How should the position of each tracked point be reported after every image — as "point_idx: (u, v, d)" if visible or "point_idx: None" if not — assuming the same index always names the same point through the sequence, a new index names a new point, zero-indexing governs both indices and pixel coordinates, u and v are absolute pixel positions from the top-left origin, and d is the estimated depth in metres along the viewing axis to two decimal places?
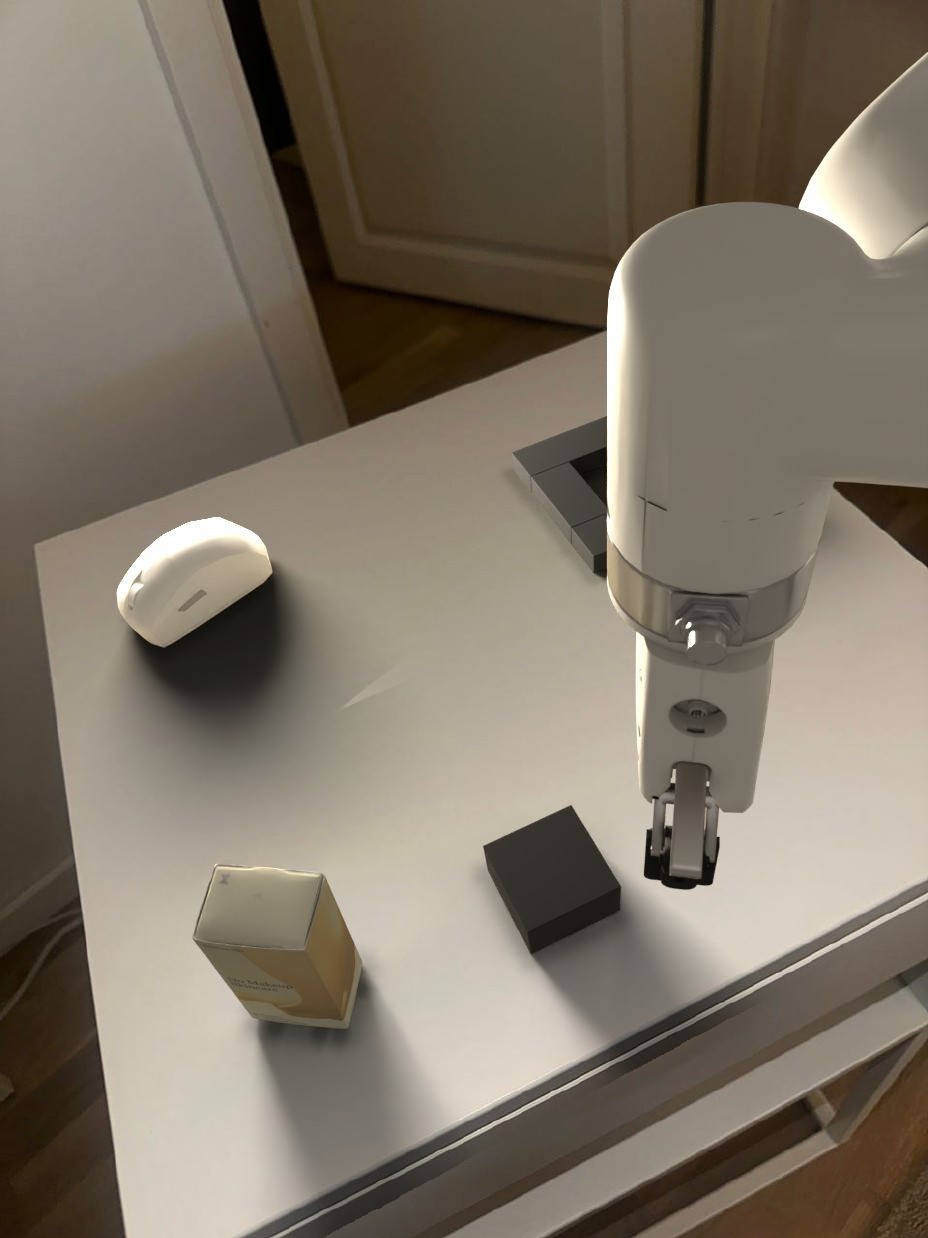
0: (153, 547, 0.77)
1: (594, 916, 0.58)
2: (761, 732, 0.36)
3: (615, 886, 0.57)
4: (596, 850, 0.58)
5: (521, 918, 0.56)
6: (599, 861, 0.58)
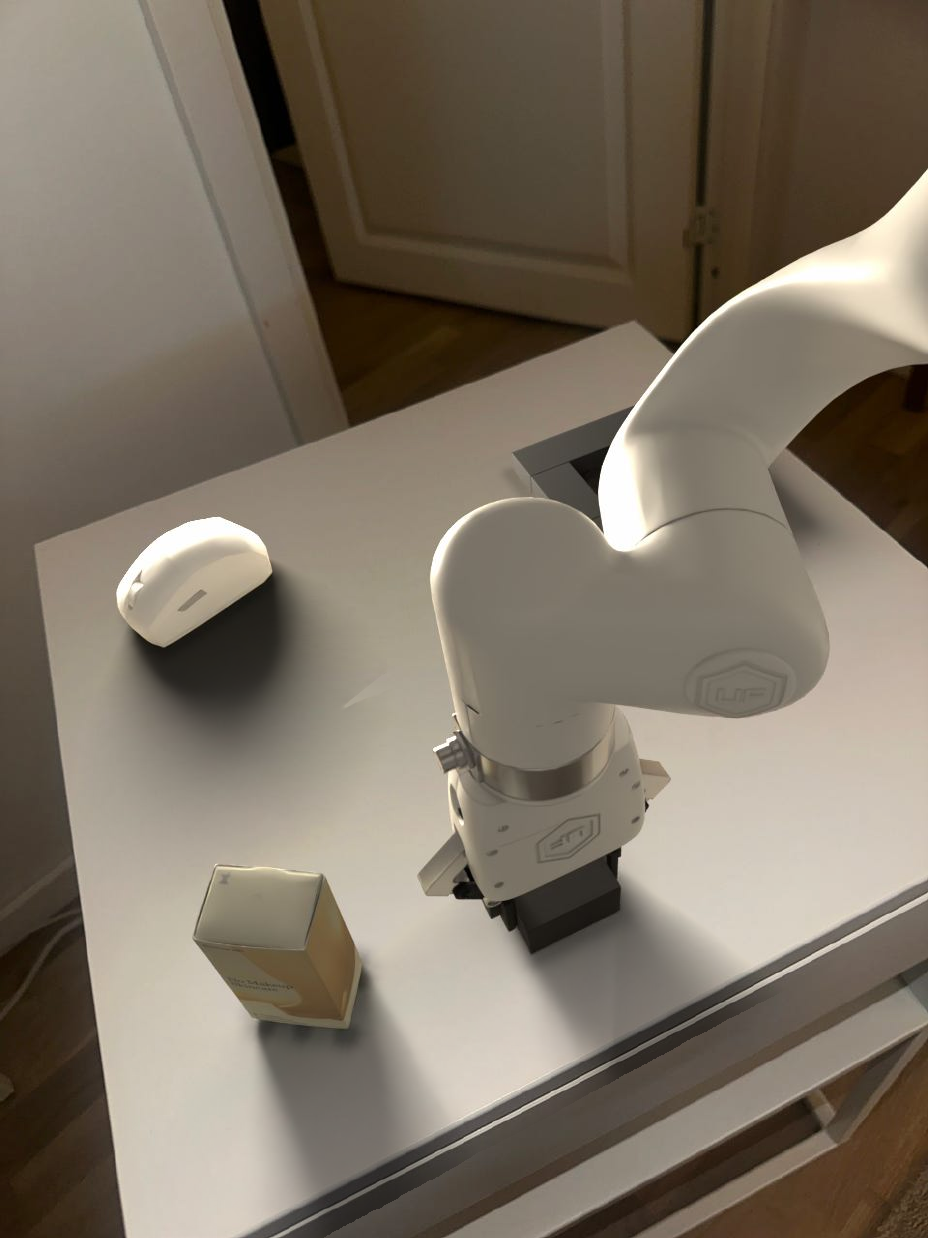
0: (153, 547, 0.77)
1: (594, 916, 0.58)
2: (483, 850, 0.48)
3: (615, 886, 0.57)
4: None
5: (521, 918, 0.56)
6: (599, 861, 0.58)
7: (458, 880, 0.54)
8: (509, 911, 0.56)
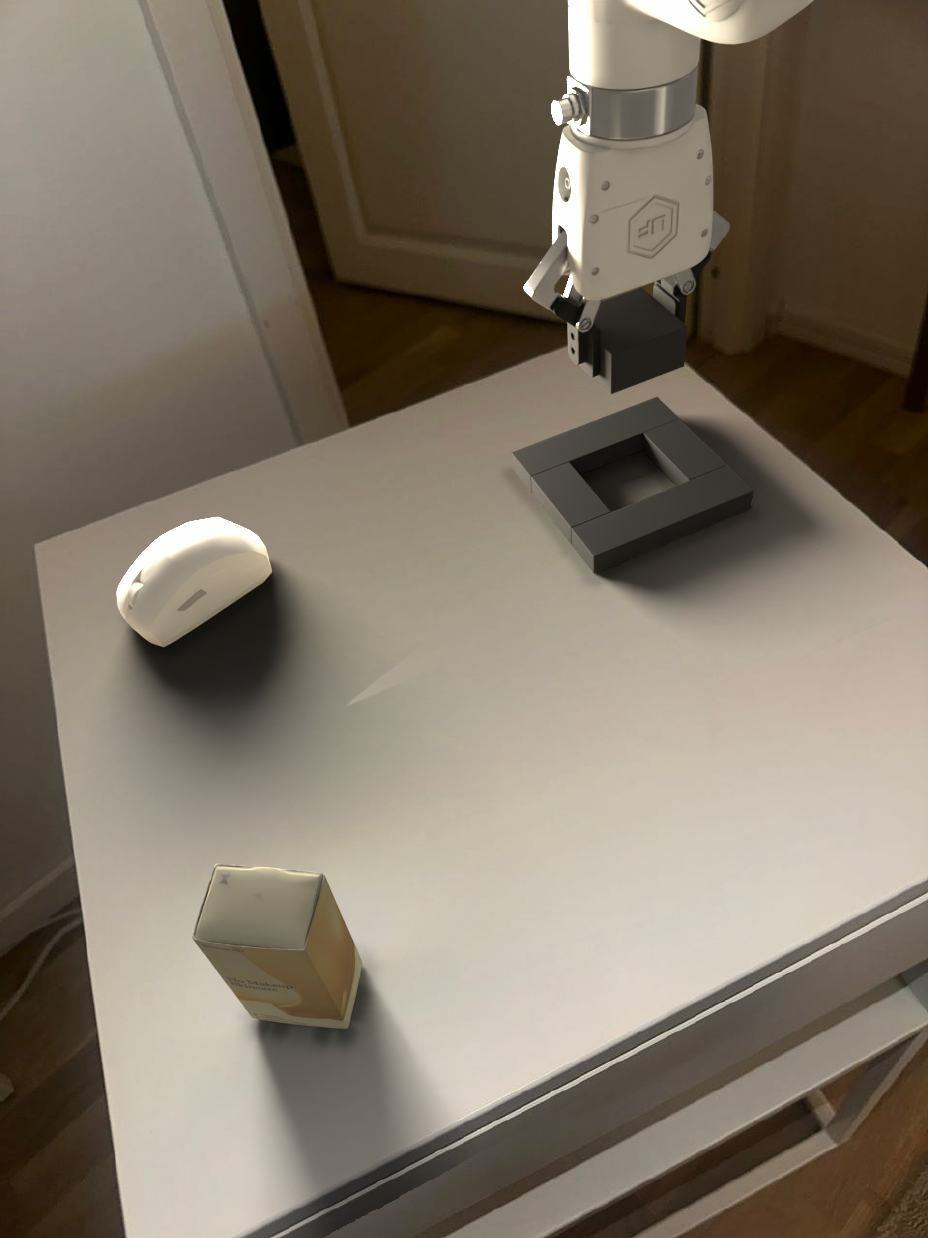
0: (153, 547, 0.77)
1: (663, 362, 0.70)
2: (587, 213, 0.59)
3: (682, 326, 0.68)
4: (665, 309, 0.70)
5: (605, 347, 0.68)
6: (668, 314, 0.69)
7: (557, 293, 0.65)
8: (595, 342, 0.68)
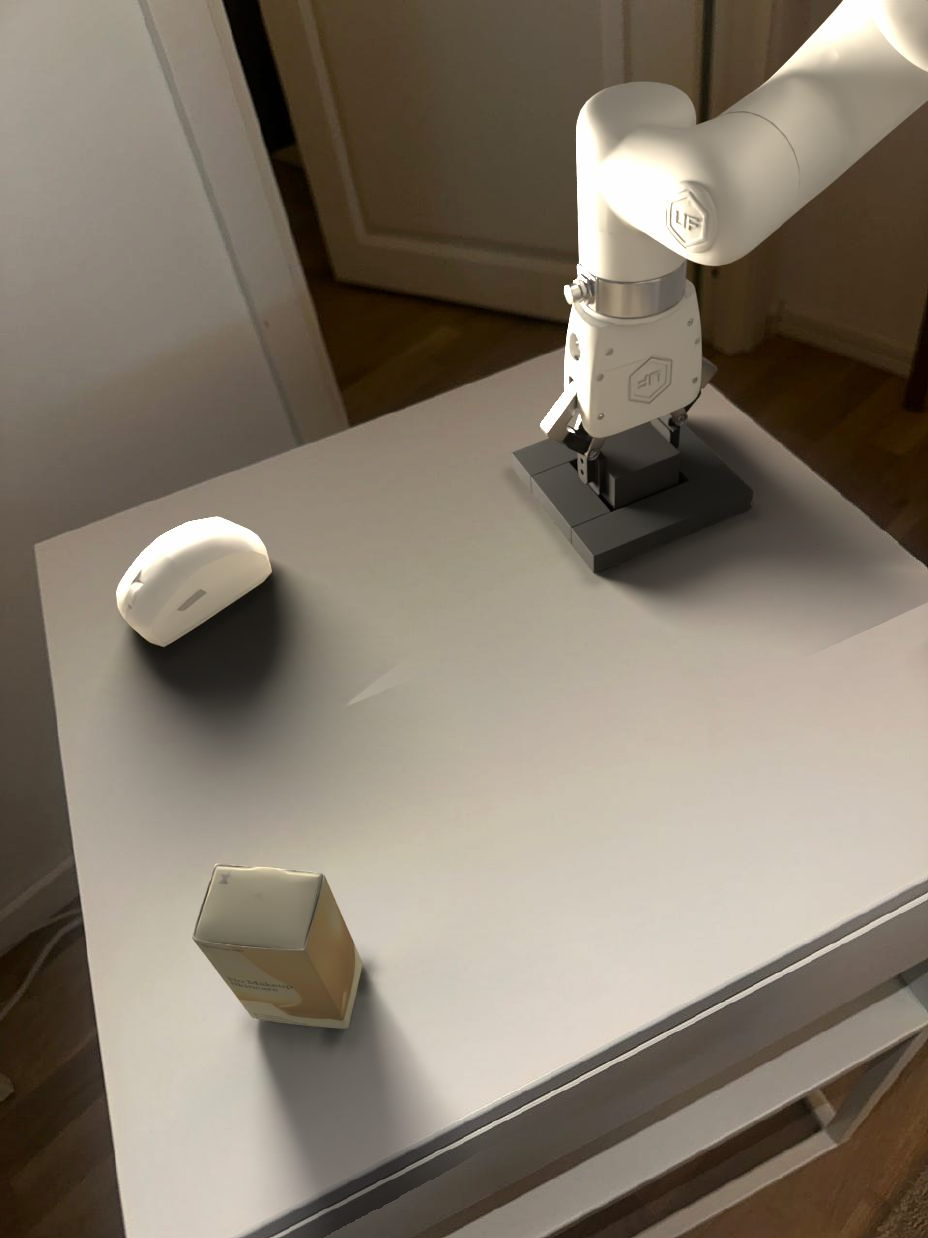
0: (152, 546, 0.77)
1: (660, 482, 0.80)
2: (594, 373, 0.70)
3: (676, 453, 0.79)
4: (661, 435, 0.81)
5: (609, 472, 0.78)
6: (664, 441, 0.80)
7: (569, 430, 0.76)
8: (602, 467, 0.78)
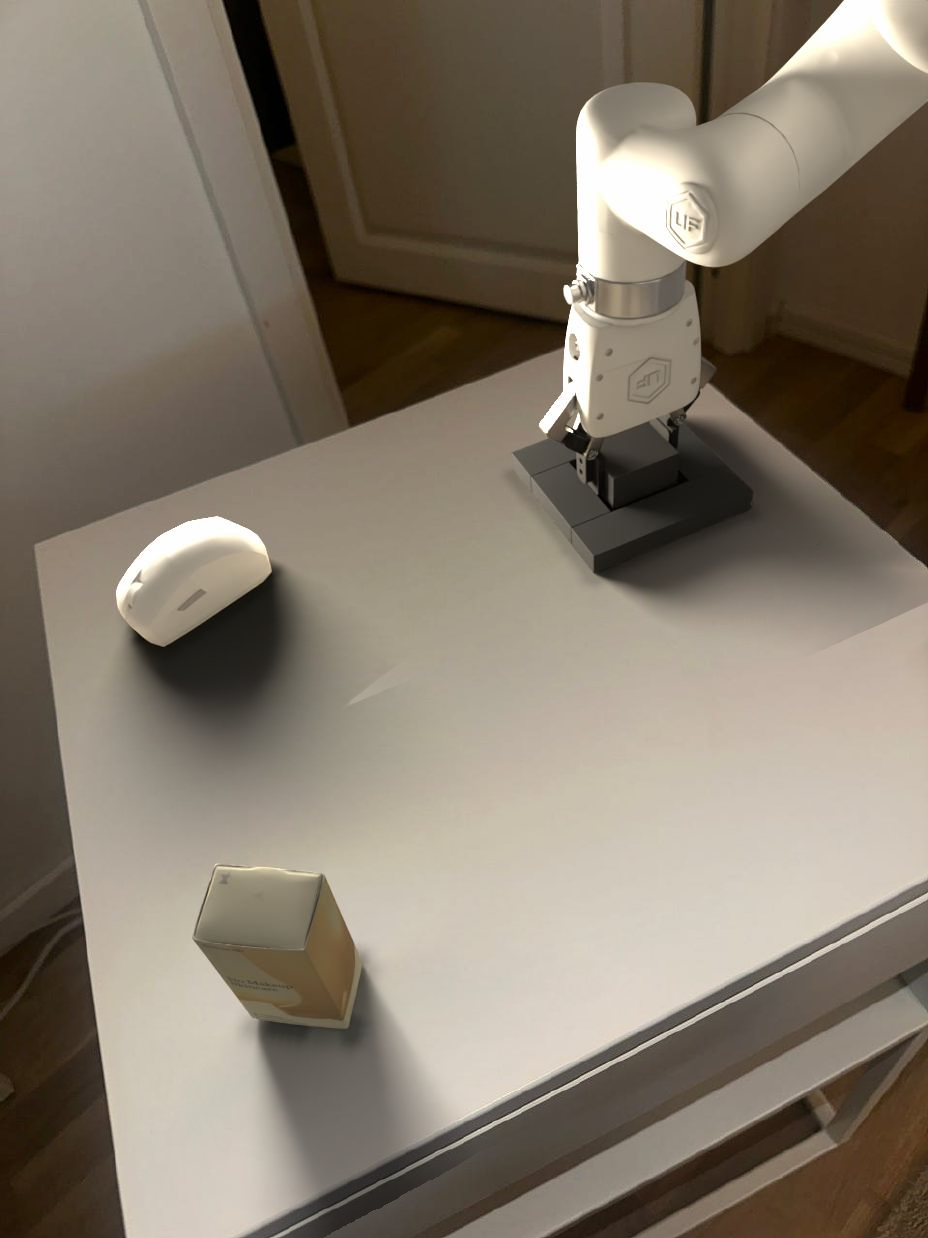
0: (152, 546, 0.77)
1: (659, 482, 0.80)
2: (593, 373, 0.70)
3: (675, 453, 0.79)
4: (660, 435, 0.81)
5: (608, 472, 0.78)
6: (663, 441, 0.80)
7: (568, 429, 0.76)
8: (600, 467, 0.78)
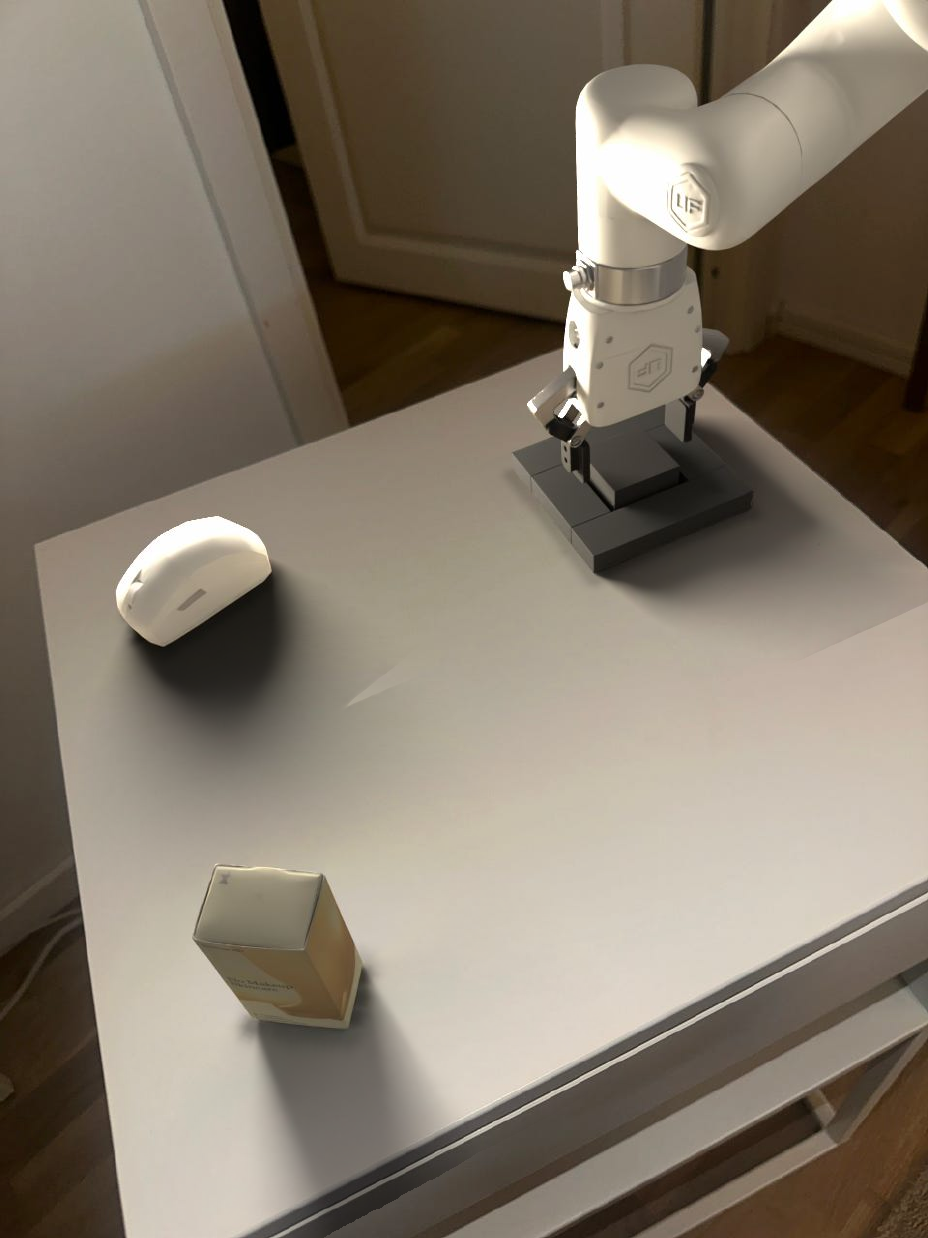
0: (152, 546, 0.77)
1: None
2: (593, 361, 0.69)
3: (675, 465, 0.80)
4: (661, 448, 0.82)
5: (609, 485, 0.79)
6: (663, 453, 0.81)
7: (554, 415, 0.74)
8: (585, 455, 0.77)
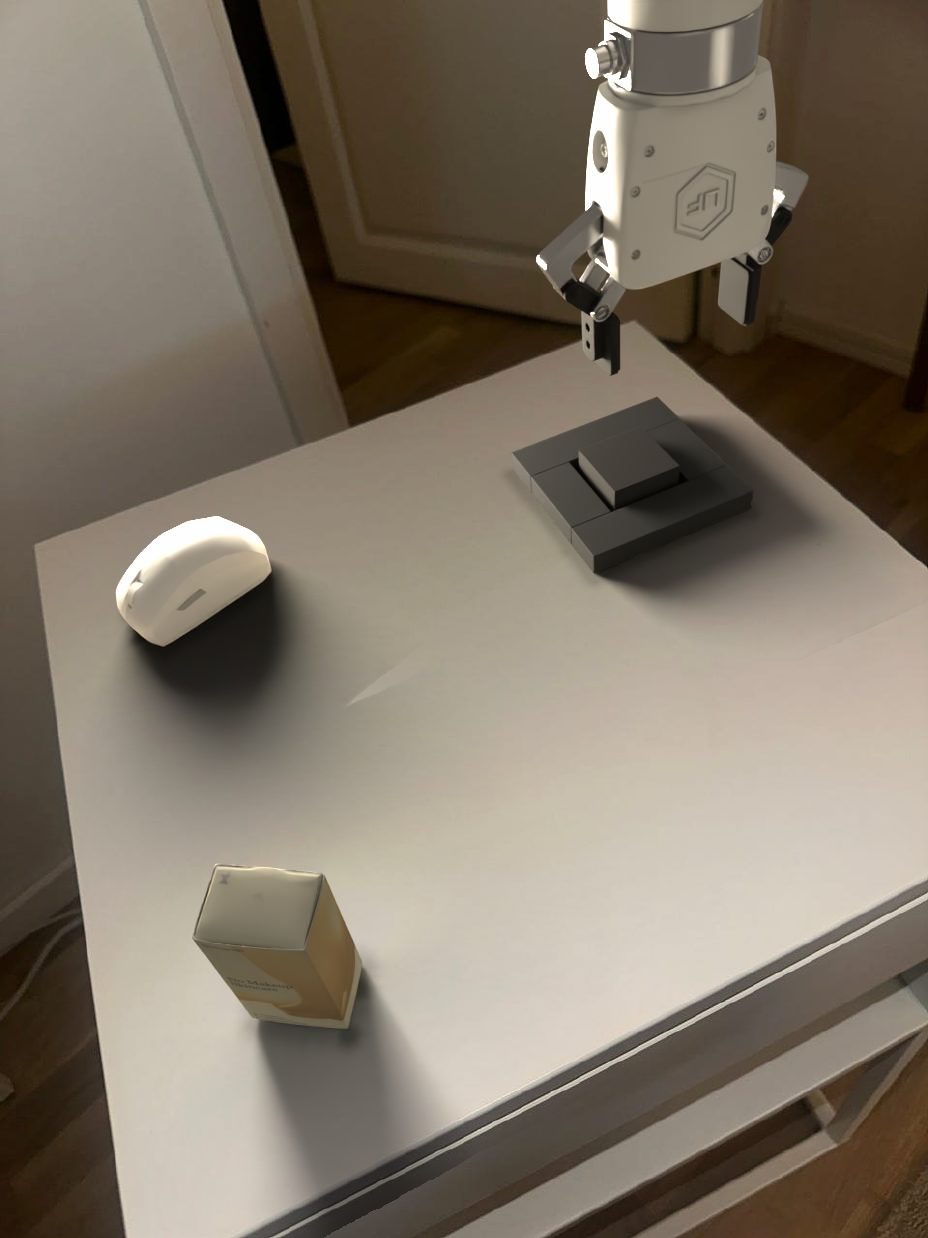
0: (152, 546, 0.77)
1: None
2: (627, 185, 0.50)
3: (675, 465, 0.80)
4: (661, 448, 0.82)
5: (609, 485, 0.79)
6: (663, 453, 0.81)
7: None
8: (614, 334, 0.57)
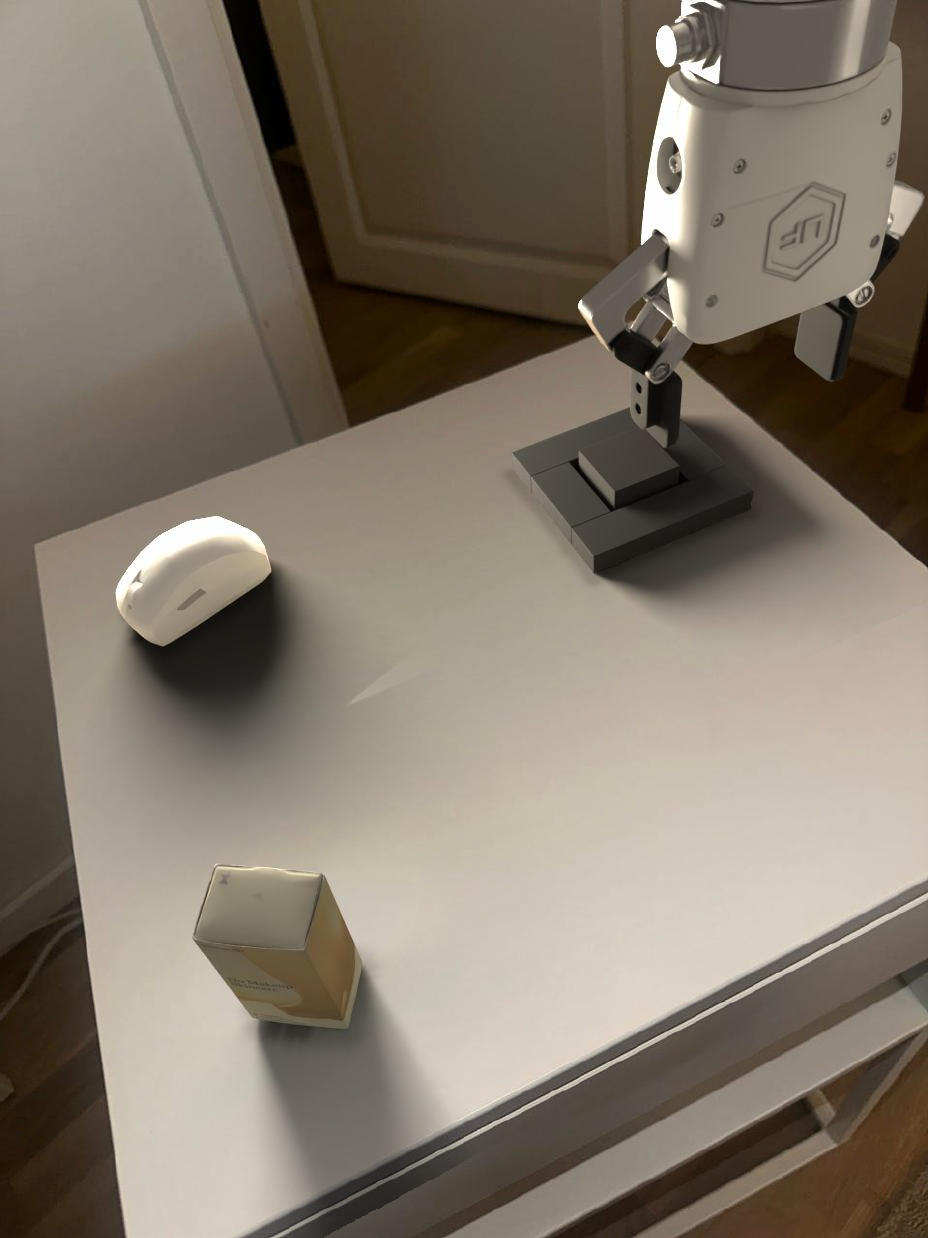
0: (152, 546, 0.77)
1: None
2: (707, 211, 0.37)
3: (675, 465, 0.80)
4: (661, 448, 0.82)
5: (609, 485, 0.79)
6: (663, 453, 0.81)
7: None
8: (674, 398, 0.45)
